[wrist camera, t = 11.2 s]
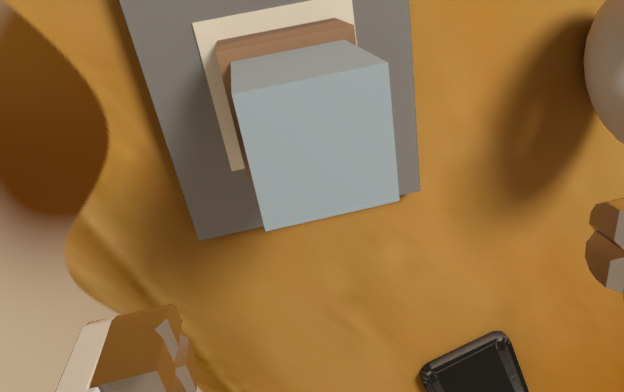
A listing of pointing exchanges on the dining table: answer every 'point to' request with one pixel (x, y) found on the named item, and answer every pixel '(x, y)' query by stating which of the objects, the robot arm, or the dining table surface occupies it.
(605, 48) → the donut
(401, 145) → the plate
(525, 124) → the dining table surface
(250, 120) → the blue block
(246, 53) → the walnut block
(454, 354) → the phone
